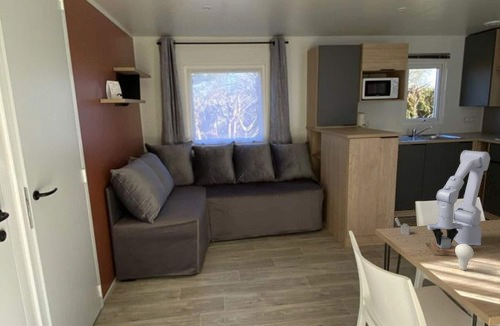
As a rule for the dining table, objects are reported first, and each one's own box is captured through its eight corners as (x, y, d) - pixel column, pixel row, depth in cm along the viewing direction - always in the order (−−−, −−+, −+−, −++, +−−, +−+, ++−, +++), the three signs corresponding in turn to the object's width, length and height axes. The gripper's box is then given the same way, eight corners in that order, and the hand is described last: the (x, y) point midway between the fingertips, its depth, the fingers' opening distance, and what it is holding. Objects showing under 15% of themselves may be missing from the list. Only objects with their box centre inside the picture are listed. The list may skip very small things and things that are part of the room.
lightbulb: (466, 275, 119) (468, 249, 117) (450, 268, 124) (452, 243, 123) (475, 271, 122) (477, 245, 120) (459, 264, 127) (460, 239, 125)
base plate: (451, 245, 144) (452, 241, 143) (462, 257, 133) (462, 252, 133) (426, 244, 146) (426, 240, 146) (434, 255, 136) (434, 251, 135)
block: (445, 244, 142) (445, 235, 141) (450, 248, 138) (451, 239, 137) (436, 245, 142) (436, 236, 141) (441, 249, 138) (441, 239, 137)
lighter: (409, 233, 159) (410, 219, 158) (409, 234, 158) (409, 220, 157) (394, 231, 164) (395, 217, 162) (394, 232, 162) (394, 218, 161)
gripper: (456, 212, 140) (454, 239, 143) (424, 213, 141) (423, 240, 143) (466, 217, 133) (464, 246, 136) (432, 218, 134) (431, 247, 136)
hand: (443, 244), depth 139 cm, fingers closed on block, 4 cm apart
